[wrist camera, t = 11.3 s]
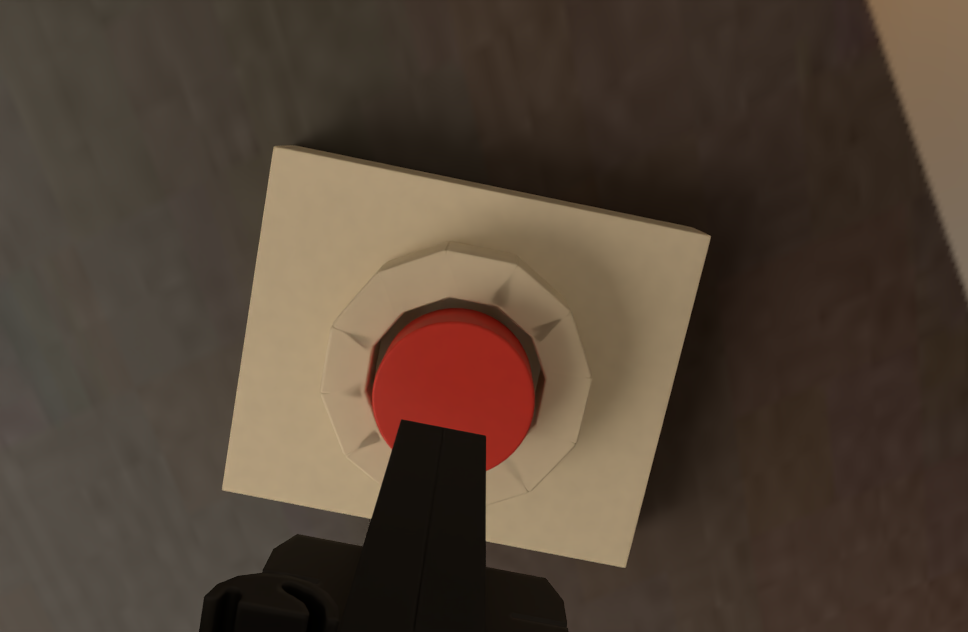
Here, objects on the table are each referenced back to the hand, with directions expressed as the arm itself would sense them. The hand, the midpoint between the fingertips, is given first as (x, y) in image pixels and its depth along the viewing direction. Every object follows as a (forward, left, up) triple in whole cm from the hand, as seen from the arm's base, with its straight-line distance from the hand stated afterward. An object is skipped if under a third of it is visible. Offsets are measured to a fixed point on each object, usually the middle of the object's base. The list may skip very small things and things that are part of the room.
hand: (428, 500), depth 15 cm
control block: (0, 0, -12) cm, 12 cm away
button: (0, 0, -8) cm, 8 cm away
